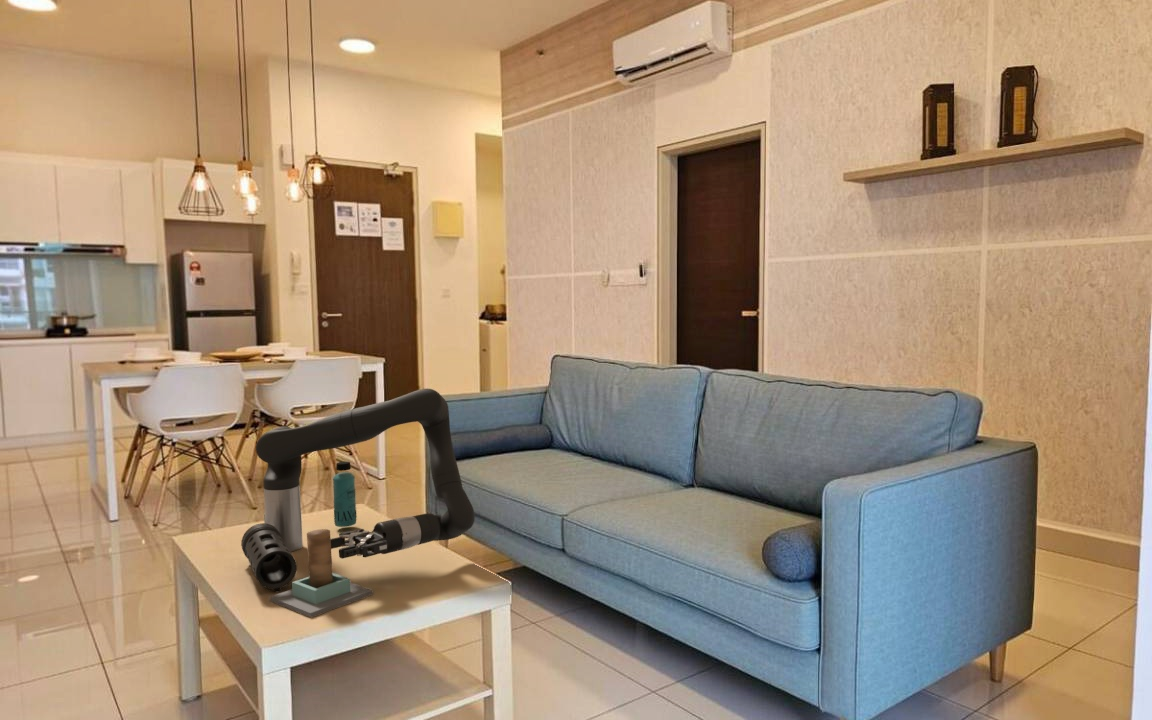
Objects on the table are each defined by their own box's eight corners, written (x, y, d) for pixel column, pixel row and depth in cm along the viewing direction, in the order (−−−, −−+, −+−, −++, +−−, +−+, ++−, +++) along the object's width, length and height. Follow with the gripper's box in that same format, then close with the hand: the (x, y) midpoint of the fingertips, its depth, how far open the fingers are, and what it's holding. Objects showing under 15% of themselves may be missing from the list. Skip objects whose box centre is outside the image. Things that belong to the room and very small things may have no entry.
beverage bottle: (330, 531, 227) (327, 464, 225) (340, 525, 233) (337, 459, 232) (351, 532, 226) (348, 464, 224) (361, 525, 232) (358, 459, 231)
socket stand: (269, 601, 174) (269, 583, 174) (331, 580, 187) (330, 563, 186) (310, 617, 164) (309, 599, 164) (372, 594, 177) (372, 577, 176)
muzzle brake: (255, 598, 177) (253, 553, 176) (241, 563, 201) (239, 524, 200) (299, 589, 181) (297, 546, 180) (280, 556, 206) (278, 518, 205)
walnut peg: (305, 594, 175) (302, 533, 174) (325, 587, 179) (321, 527, 178) (318, 598, 172) (315, 536, 171) (337, 591, 176) (334, 531, 175)
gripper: (383, 513, 192) (319, 526, 182) (410, 525, 181) (343, 540, 171) (384, 543, 192) (320, 558, 182) (412, 556, 181) (345, 573, 171)
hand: (332, 549), depth 176 cm, fingers open, 8 cm apart
